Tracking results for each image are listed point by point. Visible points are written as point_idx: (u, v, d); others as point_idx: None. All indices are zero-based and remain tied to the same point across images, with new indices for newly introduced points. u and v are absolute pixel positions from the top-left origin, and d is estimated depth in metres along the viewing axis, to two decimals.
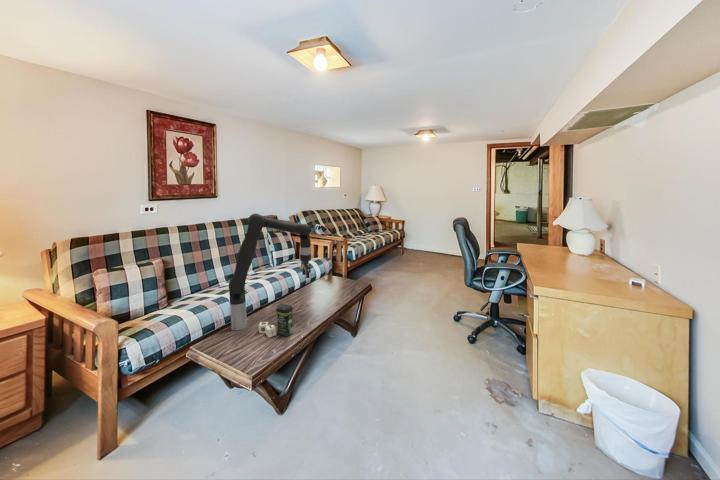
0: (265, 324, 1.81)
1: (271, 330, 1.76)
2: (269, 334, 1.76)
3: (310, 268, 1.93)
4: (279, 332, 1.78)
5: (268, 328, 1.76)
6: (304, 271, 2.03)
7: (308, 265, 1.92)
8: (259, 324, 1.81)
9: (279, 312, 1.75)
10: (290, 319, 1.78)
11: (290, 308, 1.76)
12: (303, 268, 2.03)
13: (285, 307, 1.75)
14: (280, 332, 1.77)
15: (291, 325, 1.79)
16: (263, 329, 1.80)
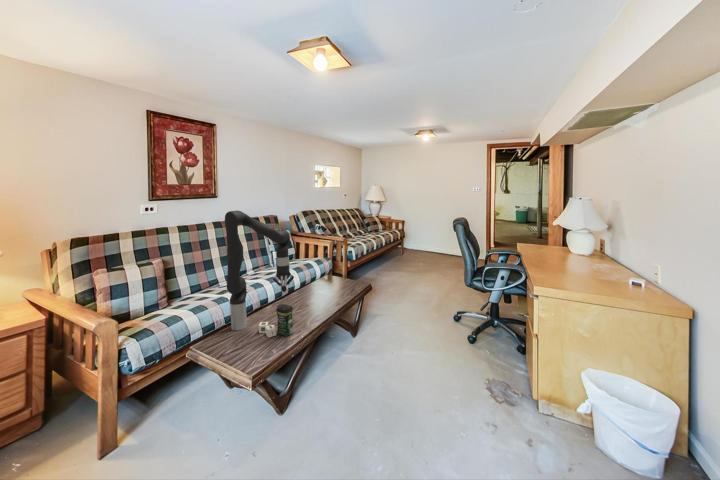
0: (265, 324, 1.81)
1: (271, 330, 1.76)
2: (269, 334, 1.76)
3: None
4: (279, 332, 1.78)
5: (268, 328, 1.76)
6: None
7: None
8: (259, 324, 1.81)
9: (279, 312, 1.75)
10: (290, 319, 1.78)
11: (290, 308, 1.76)
12: None
13: (285, 307, 1.75)
14: (280, 332, 1.77)
15: (291, 325, 1.79)
16: (263, 329, 1.80)
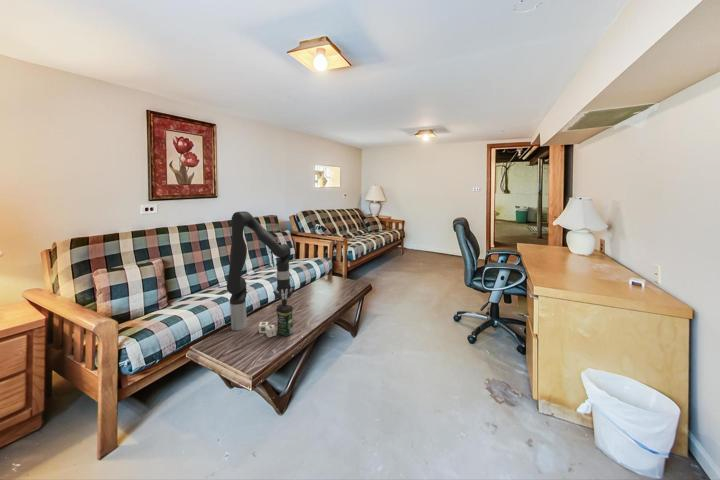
0: (265, 324, 1.81)
1: (271, 330, 1.76)
2: (269, 334, 1.76)
3: None
4: (279, 332, 1.78)
5: (268, 328, 1.76)
6: None
7: None
8: (259, 324, 1.81)
9: (279, 312, 1.75)
10: (290, 319, 1.78)
11: (290, 308, 1.76)
12: (283, 297, 1.76)
13: (285, 307, 1.75)
14: (280, 332, 1.77)
15: (291, 325, 1.79)
16: (263, 329, 1.80)
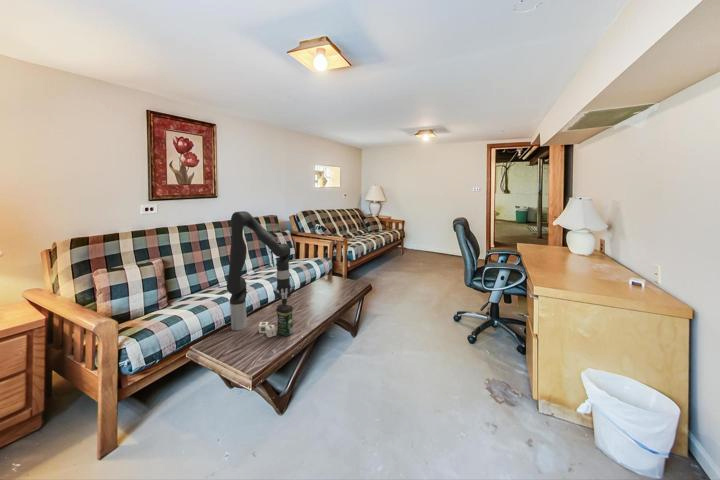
0: (265, 324, 1.81)
1: (271, 330, 1.76)
2: (269, 334, 1.76)
3: None
4: (279, 332, 1.78)
5: (268, 328, 1.76)
6: None
7: None
8: (259, 324, 1.81)
9: (279, 312, 1.75)
10: (290, 319, 1.78)
11: (290, 308, 1.76)
12: (283, 297, 1.76)
13: (285, 307, 1.75)
14: (280, 332, 1.77)
15: (291, 325, 1.79)
16: (263, 329, 1.80)
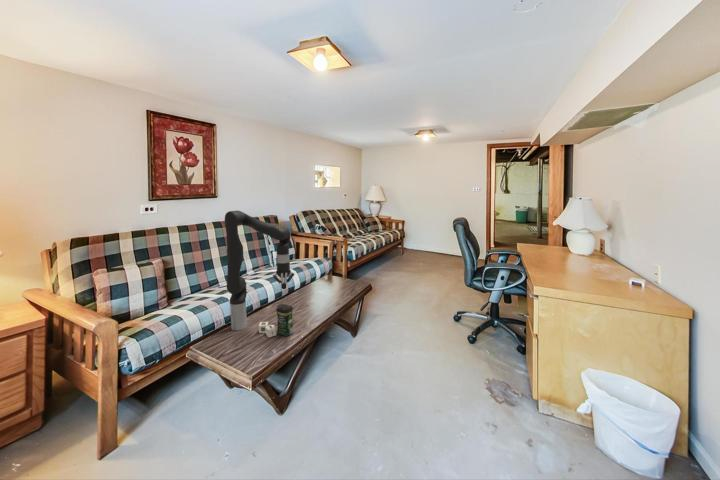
0: (265, 324, 1.81)
1: (271, 330, 1.76)
2: (269, 334, 1.76)
3: None
4: (279, 332, 1.78)
5: (268, 328, 1.76)
6: None
7: None
8: (259, 324, 1.81)
9: (279, 312, 1.75)
10: (290, 319, 1.78)
11: (290, 308, 1.76)
12: None
13: (285, 307, 1.75)
14: (280, 332, 1.77)
15: (291, 325, 1.79)
16: (263, 329, 1.80)
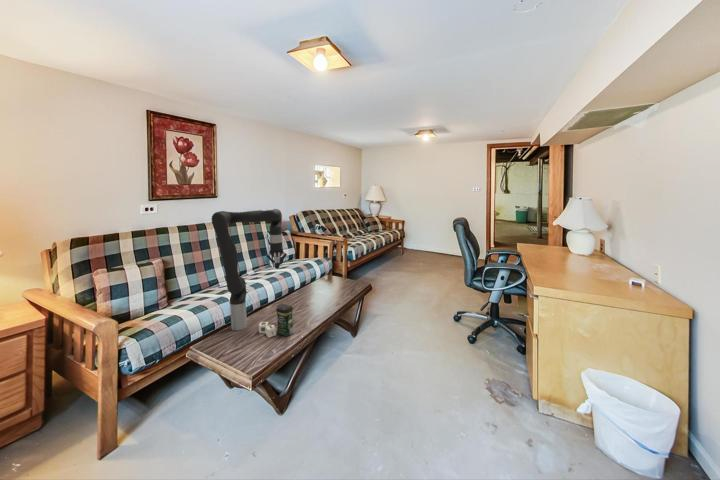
0: (265, 324, 1.81)
1: (271, 330, 1.76)
2: (269, 334, 1.76)
3: (283, 257, 1.85)
4: (279, 332, 1.78)
5: (268, 328, 1.76)
6: None
7: None
8: (259, 324, 1.81)
9: (279, 312, 1.75)
10: (290, 319, 1.78)
11: (290, 308, 1.76)
12: None
13: (285, 307, 1.75)
14: (280, 332, 1.77)
15: (291, 325, 1.79)
16: (263, 329, 1.80)
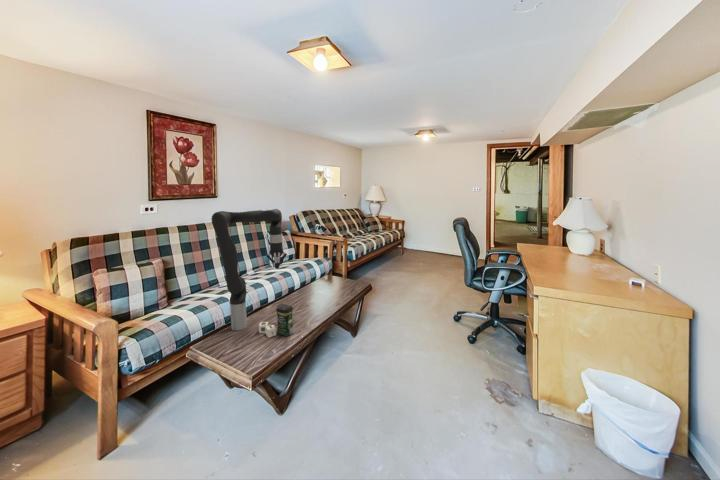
0: (265, 324, 1.81)
1: (271, 330, 1.76)
2: (269, 334, 1.76)
3: (283, 257, 1.85)
4: (279, 332, 1.78)
5: (268, 328, 1.76)
6: None
7: None
8: (259, 324, 1.81)
9: (279, 312, 1.75)
10: (290, 319, 1.78)
11: (290, 308, 1.76)
12: None
13: (285, 307, 1.75)
14: (280, 332, 1.77)
15: (291, 325, 1.79)
16: (263, 329, 1.80)
